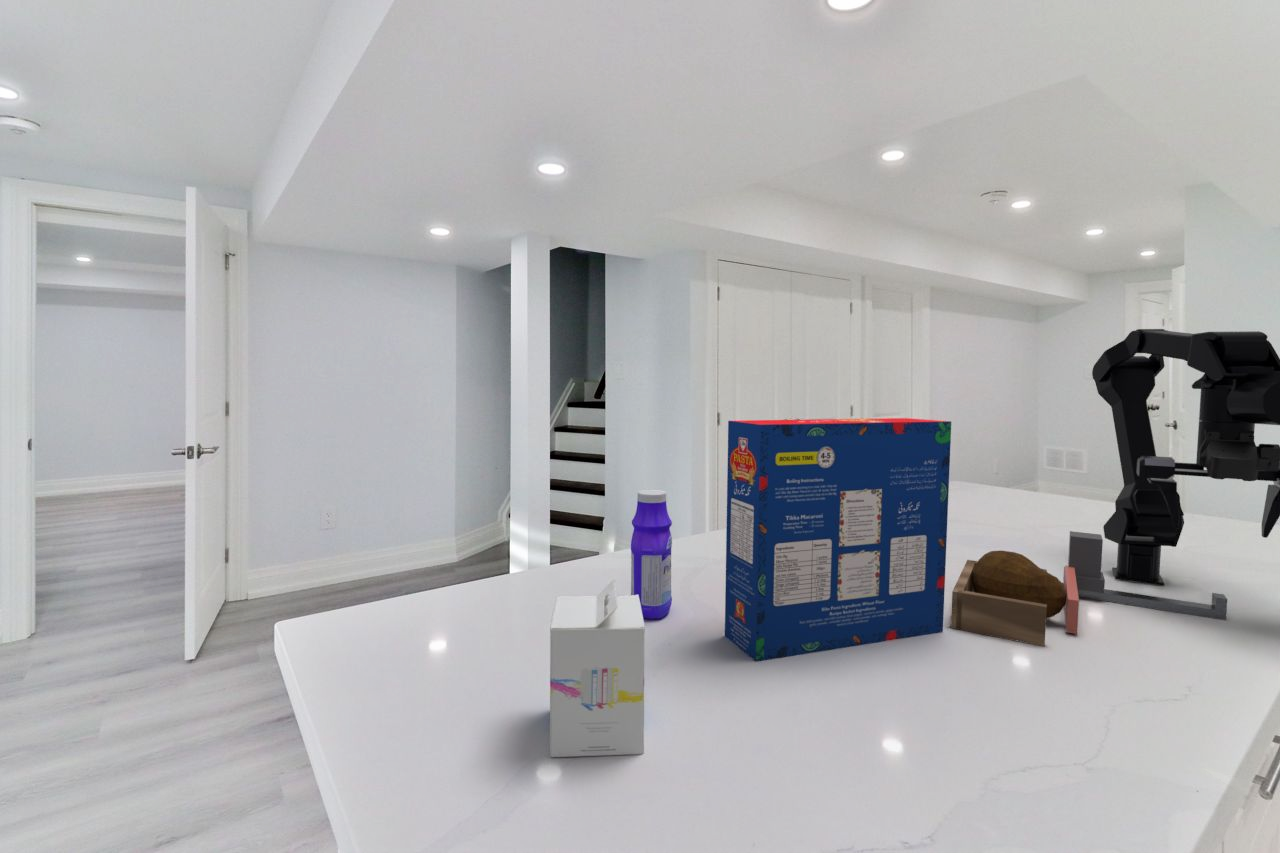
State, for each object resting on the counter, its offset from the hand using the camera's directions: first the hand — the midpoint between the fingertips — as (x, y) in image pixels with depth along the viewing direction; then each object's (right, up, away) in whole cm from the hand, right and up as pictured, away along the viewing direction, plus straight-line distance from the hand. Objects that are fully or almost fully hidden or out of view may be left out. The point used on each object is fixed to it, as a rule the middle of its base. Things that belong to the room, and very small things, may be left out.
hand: (1219, 532), depth 88 cm
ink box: (-86, -14, -30) cm, 92 cm away
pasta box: (-56, -12, -6) cm, 58 cm away
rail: (-8, -12, +6) cm, 16 cm away
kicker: (-17, -12, +2) cm, 21 cm away
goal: (-30, -12, 0) cm, 32 cm away
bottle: (-80, -12, +1) cm, 81 cm away
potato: (-29, -12, +2) cm, 31 cm away
